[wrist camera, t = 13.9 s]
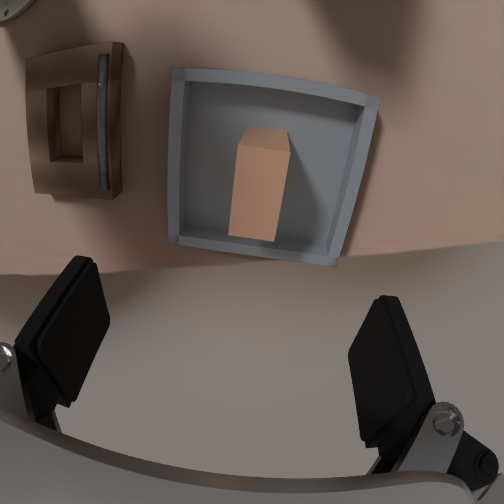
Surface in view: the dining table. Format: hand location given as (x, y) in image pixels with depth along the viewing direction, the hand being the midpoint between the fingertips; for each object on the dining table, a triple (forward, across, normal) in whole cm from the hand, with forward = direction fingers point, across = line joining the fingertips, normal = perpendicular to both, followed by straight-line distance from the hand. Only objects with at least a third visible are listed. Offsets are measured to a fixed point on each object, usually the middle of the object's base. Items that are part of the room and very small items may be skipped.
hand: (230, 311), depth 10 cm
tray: (+18, -1, +1) cm, 18 cm away
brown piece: (+18, +17, -2) cm, 25 cm away
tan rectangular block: (+17, -1, 0) cm, 17 cm away
